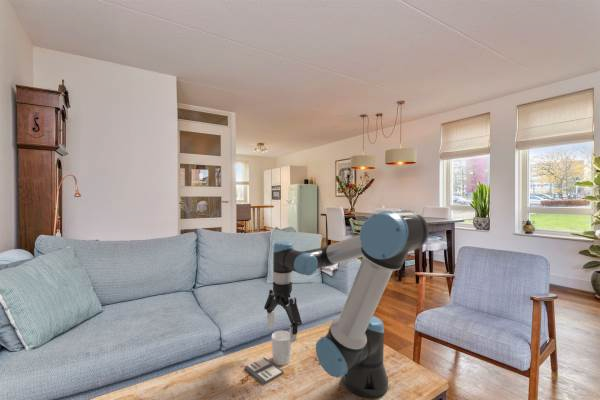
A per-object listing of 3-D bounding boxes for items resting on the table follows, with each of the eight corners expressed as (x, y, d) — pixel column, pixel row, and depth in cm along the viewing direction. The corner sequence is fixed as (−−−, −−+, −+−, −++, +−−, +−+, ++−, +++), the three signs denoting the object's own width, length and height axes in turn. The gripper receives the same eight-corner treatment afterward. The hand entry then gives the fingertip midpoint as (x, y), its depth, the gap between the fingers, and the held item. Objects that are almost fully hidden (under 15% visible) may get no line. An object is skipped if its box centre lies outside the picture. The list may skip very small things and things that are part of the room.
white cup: (292, 355, 116) (292, 331, 116) (290, 367, 108) (290, 341, 108) (273, 354, 117) (273, 330, 116) (269, 365, 109) (269, 339, 108)
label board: (283, 373, 104) (283, 370, 104) (263, 384, 98) (263, 381, 98) (264, 359, 113) (264, 356, 113) (244, 368, 107) (244, 365, 107)
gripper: (312, 287, 105) (310, 344, 106) (270, 272, 123) (270, 320, 124) (297, 292, 100) (295, 351, 101) (256, 275, 118) (255, 325, 119)
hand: (281, 334), depth 113 cm, fingers open, 13 cm apart
